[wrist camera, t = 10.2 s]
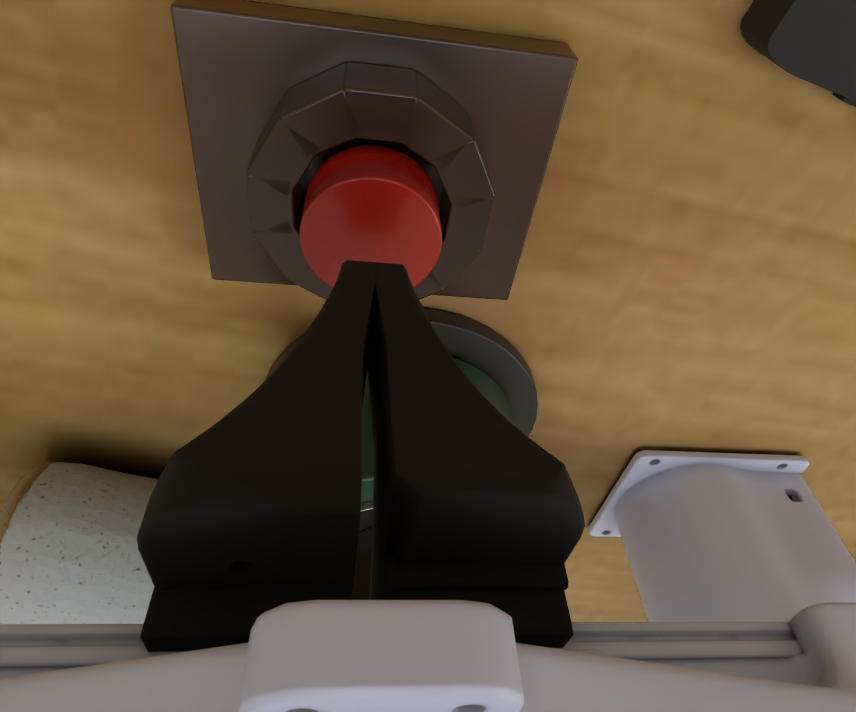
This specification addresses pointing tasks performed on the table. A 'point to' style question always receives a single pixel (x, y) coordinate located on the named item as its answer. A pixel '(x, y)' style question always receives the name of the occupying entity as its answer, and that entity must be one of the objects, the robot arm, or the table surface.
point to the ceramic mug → (74, 547)
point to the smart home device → (808, 40)
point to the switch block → (364, 130)
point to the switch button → (370, 214)
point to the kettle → (365, 528)
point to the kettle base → (481, 361)
